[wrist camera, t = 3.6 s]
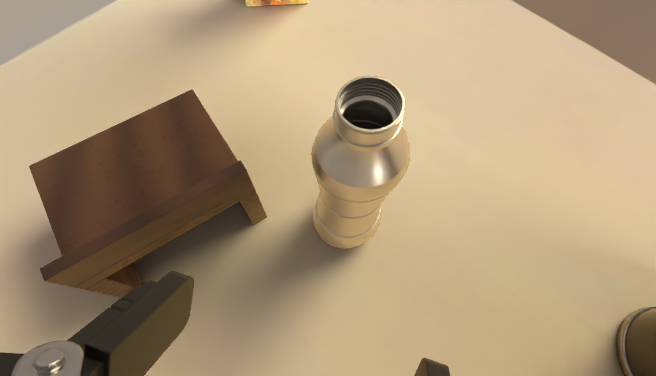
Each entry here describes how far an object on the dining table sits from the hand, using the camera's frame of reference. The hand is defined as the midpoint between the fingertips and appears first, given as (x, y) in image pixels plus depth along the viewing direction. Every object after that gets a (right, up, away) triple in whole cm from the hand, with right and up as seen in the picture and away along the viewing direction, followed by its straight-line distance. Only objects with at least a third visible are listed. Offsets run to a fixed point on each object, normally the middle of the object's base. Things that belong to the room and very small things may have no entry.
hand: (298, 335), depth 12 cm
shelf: (-15, +3, +25) cm, 29 cm away
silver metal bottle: (+3, +1, +25) cm, 25 cm away
